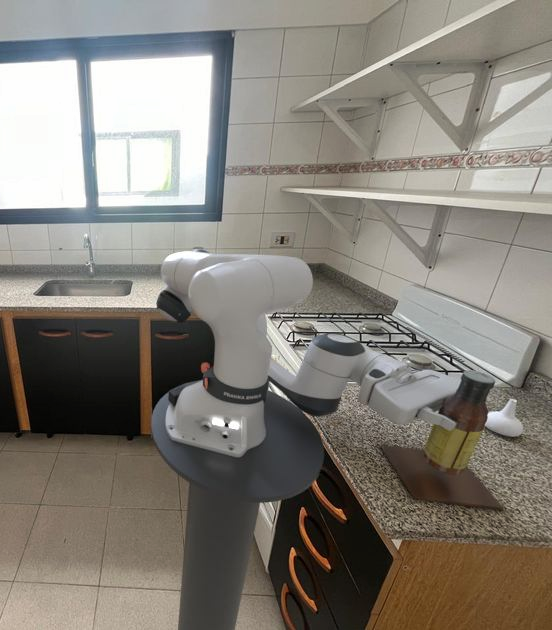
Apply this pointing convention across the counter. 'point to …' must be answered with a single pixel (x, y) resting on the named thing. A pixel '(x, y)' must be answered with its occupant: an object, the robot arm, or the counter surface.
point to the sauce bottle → (460, 424)
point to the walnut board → (438, 480)
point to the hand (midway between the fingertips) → (468, 420)
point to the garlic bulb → (505, 421)
